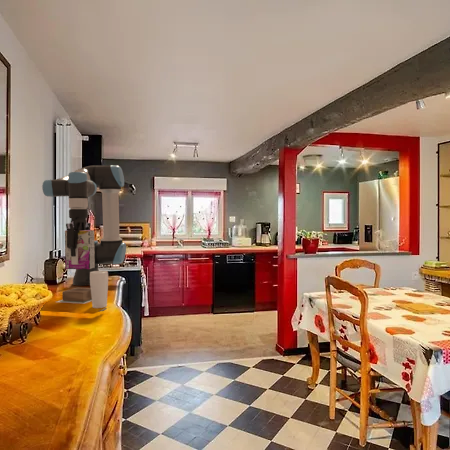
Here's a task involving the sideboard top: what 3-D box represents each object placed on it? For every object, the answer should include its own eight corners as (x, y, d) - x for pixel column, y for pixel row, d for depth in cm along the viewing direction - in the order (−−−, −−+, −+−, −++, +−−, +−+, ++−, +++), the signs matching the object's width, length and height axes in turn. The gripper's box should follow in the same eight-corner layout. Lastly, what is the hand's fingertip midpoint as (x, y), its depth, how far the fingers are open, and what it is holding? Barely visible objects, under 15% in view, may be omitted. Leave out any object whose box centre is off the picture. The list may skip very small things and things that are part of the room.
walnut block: (77, 296, 170) (77, 287, 170) (97, 297, 168) (97, 288, 168) (62, 301, 161) (62, 291, 161) (83, 302, 158) (83, 292, 158)
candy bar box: (64, 269, 162) (63, 230, 162) (70, 268, 167) (70, 230, 167) (90, 269, 161) (89, 230, 161) (95, 268, 166) (94, 229, 165)
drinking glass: (89, 309, 152) (88, 271, 151) (107, 307, 155) (106, 270, 154) (91, 313, 146) (91, 273, 145) (110, 310, 149) (109, 272, 148)
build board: (76, 298, 173) (76, 294, 173) (104, 299, 169) (104, 296, 169) (55, 305, 159) (55, 301, 159) (84, 307, 156) (84, 303, 156)
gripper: (84, 209, 173) (85, 260, 174) (55, 208, 155) (57, 265, 156) (98, 209, 171) (100, 261, 172) (71, 208, 153) (73, 266, 154)
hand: (79, 263), depth 164 cm, fingers closed on candy bar box, 5 cm apart
